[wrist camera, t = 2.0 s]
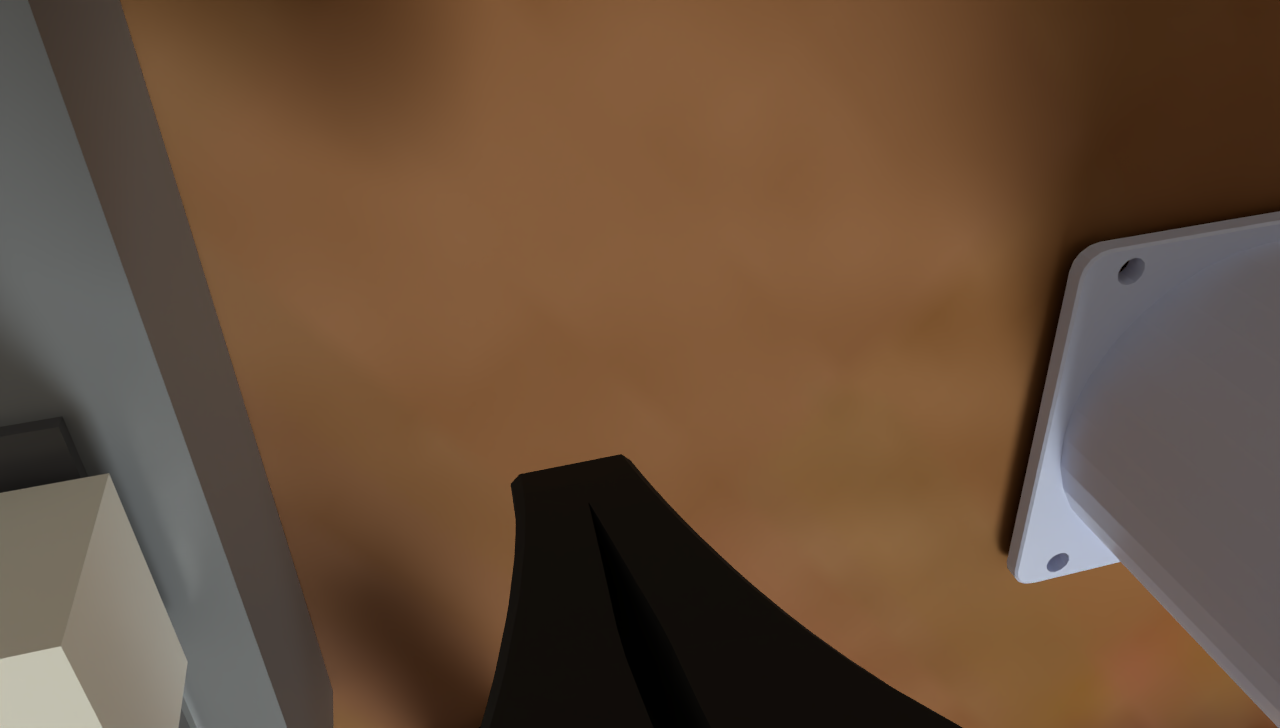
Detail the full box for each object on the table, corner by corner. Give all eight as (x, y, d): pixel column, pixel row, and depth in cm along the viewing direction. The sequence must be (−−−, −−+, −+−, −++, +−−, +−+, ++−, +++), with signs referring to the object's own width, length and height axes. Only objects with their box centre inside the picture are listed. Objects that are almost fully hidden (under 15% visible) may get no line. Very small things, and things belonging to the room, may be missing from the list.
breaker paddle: (108, 472, 11) (60, 645, 9) (188, 662, 13) (162, 845, 11) (-55, 502, 11) (-142, 689, 9) (48, 693, 12) (-7, 886, 10)
